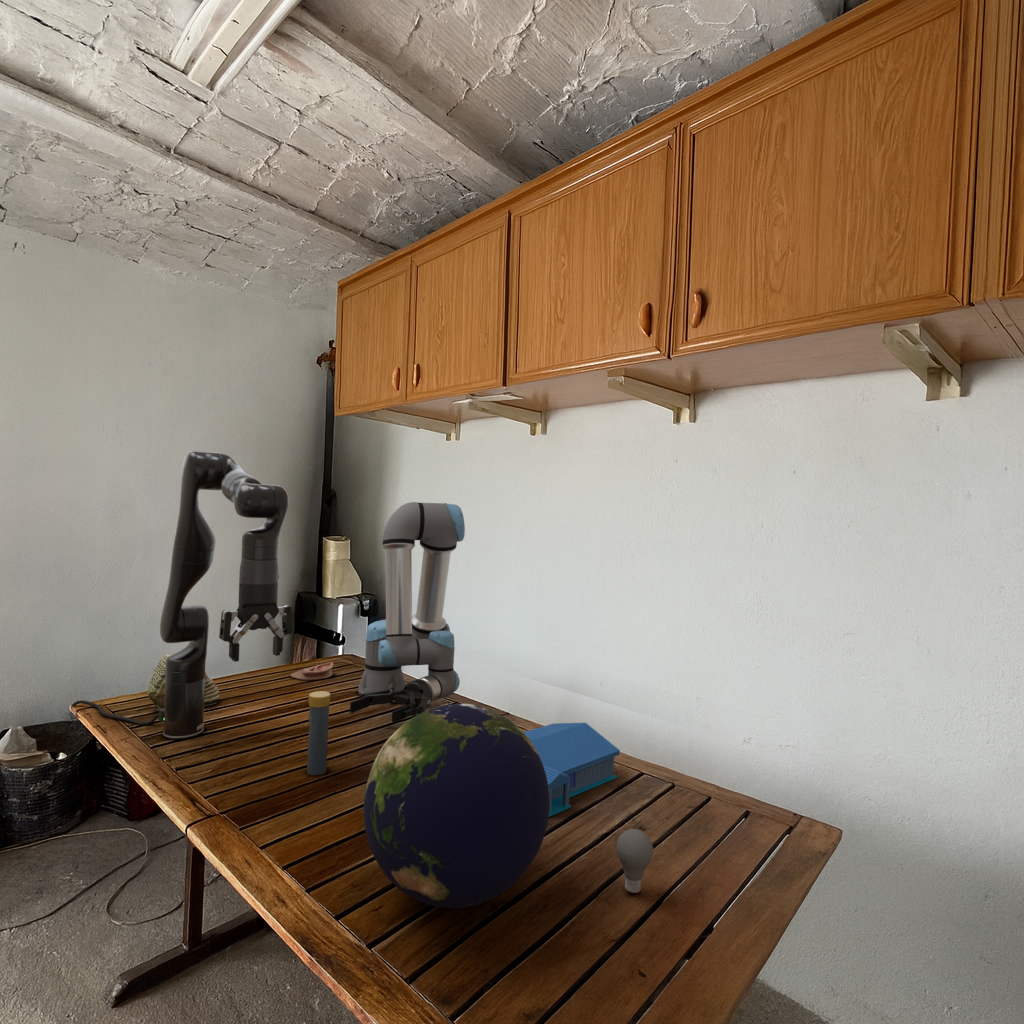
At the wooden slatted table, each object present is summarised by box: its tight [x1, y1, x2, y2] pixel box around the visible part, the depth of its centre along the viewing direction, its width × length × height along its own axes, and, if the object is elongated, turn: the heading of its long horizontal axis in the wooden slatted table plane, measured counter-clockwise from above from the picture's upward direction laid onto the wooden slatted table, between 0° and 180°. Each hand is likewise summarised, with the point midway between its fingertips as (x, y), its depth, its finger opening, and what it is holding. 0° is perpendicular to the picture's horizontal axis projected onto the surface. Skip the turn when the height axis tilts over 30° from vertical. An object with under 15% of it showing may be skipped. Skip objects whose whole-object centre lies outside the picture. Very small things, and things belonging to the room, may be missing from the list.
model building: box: [523, 722, 621, 818], centre depth 143 cm, size 39×24×10 cm, turn 132°
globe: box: [363, 703, 549, 909], centre depth 103 cm, size 30×30×30 cm
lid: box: [307, 690, 332, 708], centre depth 145 cm, size 5×5×2 cm
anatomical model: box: [290, 661, 334, 681], centre depth 221 cm, size 13×4×12 cm
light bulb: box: [615, 828, 654, 894], centre depth 106 cm, size 6×6×10 cm
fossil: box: [147, 654, 221, 711], centre depth 185 cm, size 9×18×15 cm, turn 132°
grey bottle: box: [306, 705, 330, 776], centre depth 146 cm, size 4×4×18 cm
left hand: (256, 657), depth 132 cm, fingers open, 8 cm apart
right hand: (371, 712), depth 161 cm, fingers open, 13 cm apart
